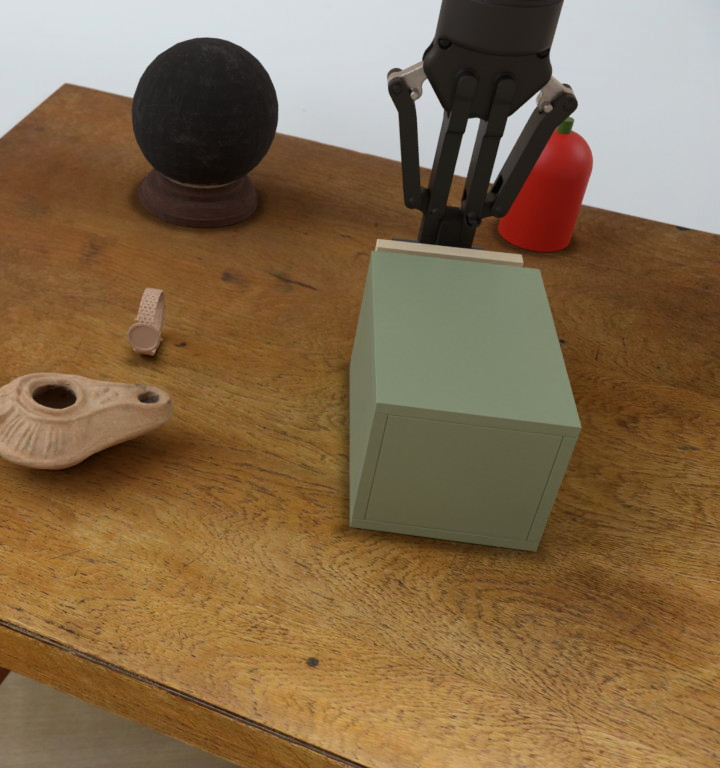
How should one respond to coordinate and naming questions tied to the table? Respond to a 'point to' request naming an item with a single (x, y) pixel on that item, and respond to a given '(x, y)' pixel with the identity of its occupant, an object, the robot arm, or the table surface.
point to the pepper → (551, 194)
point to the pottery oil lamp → (74, 417)
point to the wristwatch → (148, 322)
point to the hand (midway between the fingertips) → (433, 289)
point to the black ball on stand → (203, 131)
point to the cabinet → (457, 402)
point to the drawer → (448, 252)
